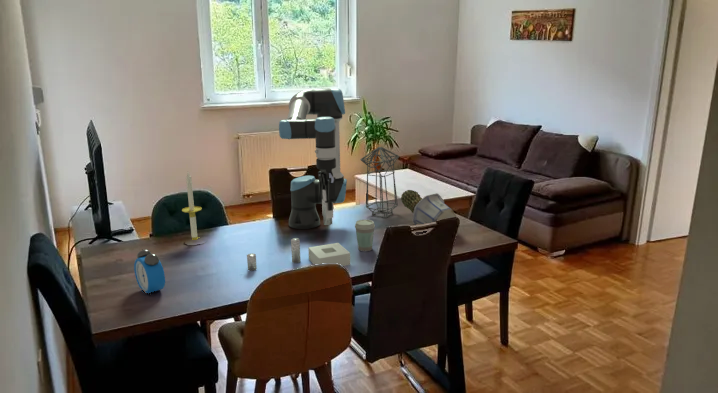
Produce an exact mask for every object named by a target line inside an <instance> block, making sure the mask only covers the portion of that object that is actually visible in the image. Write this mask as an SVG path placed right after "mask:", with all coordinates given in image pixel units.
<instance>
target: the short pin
mask: <svg viewBox="0 0 718 393" xmlns="http://www.w3.org/2000/svg"><path fill="white" fill-rule="evenodd" d="M246 261H247V262H246V263H247V271H248V270H249V272H254V270H255V271H257V270H256V269H258V266H257V255H256V253H248V254H246Z"/></svg>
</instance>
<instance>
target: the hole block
mask: <svg viewBox="0 0 718 393" xmlns="http://www.w3.org/2000/svg"><path fill="white" fill-rule="evenodd" d="M308 260H309V261H310V262H311V263H312V264H313V265H314V264H322V263H338V264H341V265H343V266H342V267H346V266H347V267H348V266H350V265H351V252H350V251H349V250H348V249H346V248H345V247H344V246H343V245H341V244H340V243H339V242H335V243H328V244H324V245H323V244H321V245H316V246H310V247H308Z"/></svg>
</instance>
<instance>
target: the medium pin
mask: <svg viewBox="0 0 718 393" xmlns="http://www.w3.org/2000/svg"><path fill="white" fill-rule="evenodd" d="M300 242H301V241H300V238H298V237H294V238H291V239H290V244H291V245H290V246H291V263H293V264H300V263H301V248H300V247H301V244H300Z"/></svg>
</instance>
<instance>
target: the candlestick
mask: <svg viewBox="0 0 718 393" xmlns="http://www.w3.org/2000/svg"><path fill="white" fill-rule="evenodd" d="M185 179H186V180H185V181H186V189H187V198H188V206H186V207H184V208H183V207H182V209H181V212H183V213H185V214H186V213H188V215H189V223H190V235H191V238H192V240H197V239H198V238H199V237H198V229H197V216H196V213H197V212H200V211H202V209H203V208H202V207H201V206H197V205H195V204H194V202H195V201H194V194H193V192H194V191H193V182H192V176H191V175H190V172H189V171H187V174H186V177H185Z"/></svg>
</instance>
